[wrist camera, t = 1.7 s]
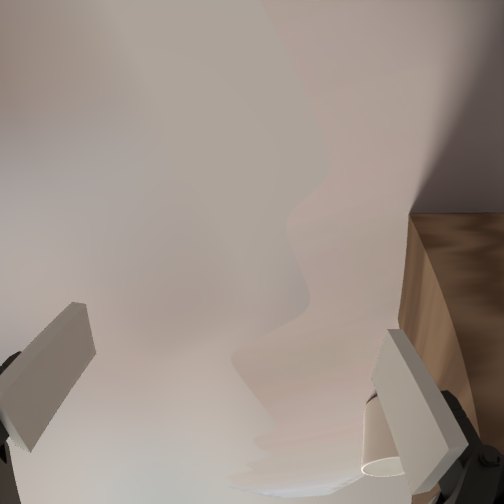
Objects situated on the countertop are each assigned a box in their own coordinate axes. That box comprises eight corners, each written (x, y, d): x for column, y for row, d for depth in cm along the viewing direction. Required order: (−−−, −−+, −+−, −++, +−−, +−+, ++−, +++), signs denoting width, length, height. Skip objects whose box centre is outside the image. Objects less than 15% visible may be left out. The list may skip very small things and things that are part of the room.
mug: (449, 388, 35) (458, 451, 27) (429, 416, 40) (433, 473, 31) (370, 388, 38) (369, 456, 29) (358, 417, 42) (355, 476, 34)
